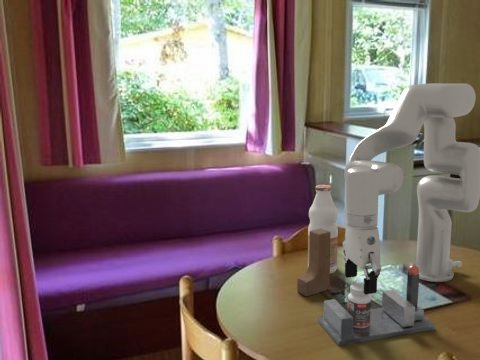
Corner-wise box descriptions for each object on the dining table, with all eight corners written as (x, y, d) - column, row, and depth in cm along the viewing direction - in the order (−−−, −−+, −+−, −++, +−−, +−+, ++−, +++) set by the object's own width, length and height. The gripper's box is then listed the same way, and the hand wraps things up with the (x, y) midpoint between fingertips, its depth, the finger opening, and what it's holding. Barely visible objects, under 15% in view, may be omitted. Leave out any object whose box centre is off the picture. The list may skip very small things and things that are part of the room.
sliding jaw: (405, 305, 131) (407, 257, 128) (428, 322, 121) (431, 272, 118) (381, 308, 129) (383, 260, 126) (403, 327, 120) (406, 275, 117)
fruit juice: (307, 274, 156) (307, 189, 150) (308, 263, 165) (309, 182, 159) (337, 275, 154) (338, 189, 148) (336, 264, 163) (338, 183, 157)
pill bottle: (357, 331, 118) (359, 293, 116) (341, 321, 123) (343, 285, 121) (374, 325, 121) (376, 288, 119) (358, 315, 126) (360, 280, 124)
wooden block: (306, 297, 140) (307, 237, 136) (296, 291, 144) (296, 233, 140) (330, 289, 145) (331, 231, 141) (319, 284, 148) (320, 227, 144)
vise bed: (407, 307, 132) (408, 286, 131) (435, 329, 121) (436, 306, 120) (318, 321, 126) (318, 299, 125) (338, 345, 115) (339, 321, 113)
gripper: (395, 228, 109) (392, 297, 113) (358, 207, 125) (357, 269, 129) (364, 232, 107) (363, 303, 111) (331, 210, 124) (331, 273, 128)
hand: (360, 284), depth 120 cm, fingers open, 9 cm apart
